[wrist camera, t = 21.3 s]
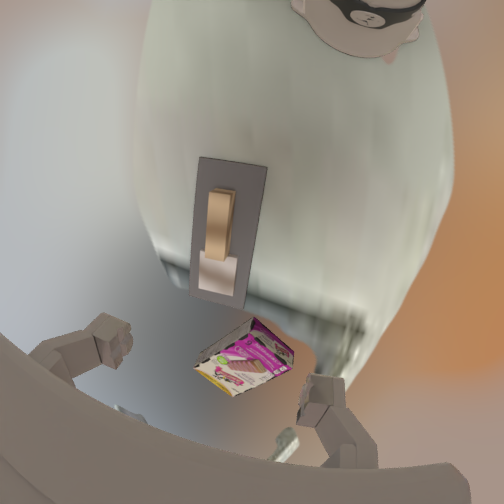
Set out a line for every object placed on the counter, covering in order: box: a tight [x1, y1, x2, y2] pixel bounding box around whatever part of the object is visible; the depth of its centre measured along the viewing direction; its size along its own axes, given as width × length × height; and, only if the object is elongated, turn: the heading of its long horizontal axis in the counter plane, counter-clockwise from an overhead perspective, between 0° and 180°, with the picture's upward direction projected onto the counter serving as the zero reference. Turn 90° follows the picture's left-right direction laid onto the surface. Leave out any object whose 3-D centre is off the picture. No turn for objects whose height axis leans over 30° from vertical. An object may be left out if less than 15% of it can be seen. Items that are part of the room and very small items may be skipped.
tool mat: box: [189, 157, 267, 310], centre depth 43 cm, size 24×10×1 cm, turn 171°
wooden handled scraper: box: [199, 188, 238, 296], centre depth 42 cm, size 17×6×3 cm, turn 173°
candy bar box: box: [193, 317, 294, 397], centre depth 50 cm, size 11×5×16 cm
